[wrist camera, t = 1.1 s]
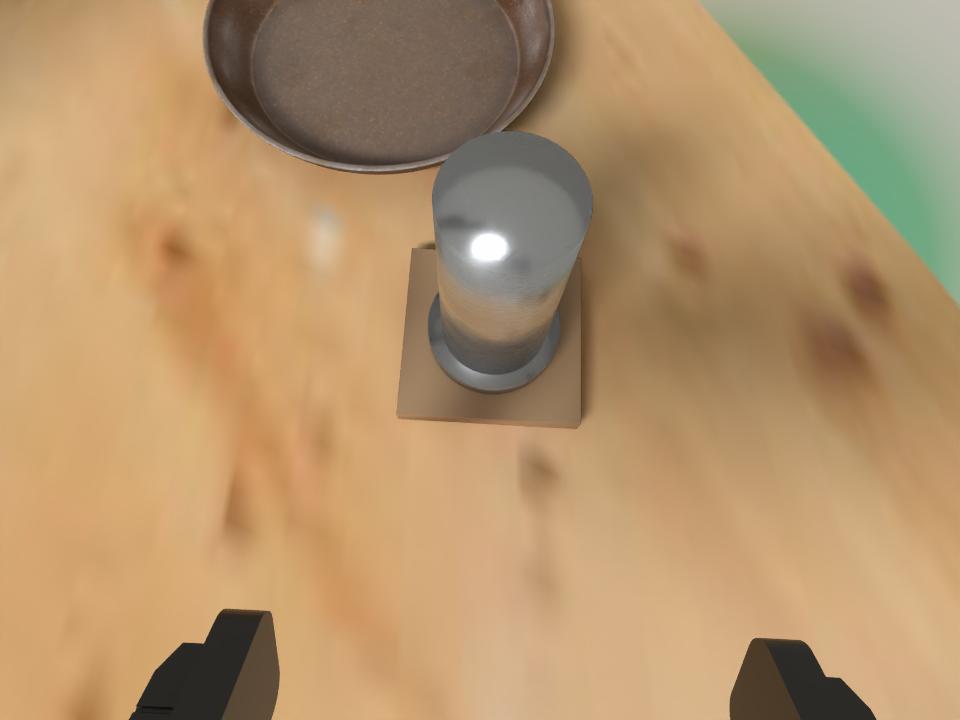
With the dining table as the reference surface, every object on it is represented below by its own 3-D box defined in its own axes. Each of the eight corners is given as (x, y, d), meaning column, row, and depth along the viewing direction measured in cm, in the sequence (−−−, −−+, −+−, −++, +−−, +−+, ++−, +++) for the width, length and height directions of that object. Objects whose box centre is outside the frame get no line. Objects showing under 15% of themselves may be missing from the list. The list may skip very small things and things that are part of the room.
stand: (398, 418, 28) (396, 413, 27) (413, 257, 30) (411, 248, 29) (576, 428, 28) (580, 424, 27) (577, 267, 31) (580, 258, 30)
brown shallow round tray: (219, -44, 36) (198, -96, 33) (519, -67, 38) (524, -120, 35) (226, 224, 31) (202, 189, 28) (575, 186, 32) (586, 148, 29)
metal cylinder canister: (408, 367, 28) (377, 249, 17) (456, 257, 29) (455, 89, 19) (531, 413, 27) (577, 321, 17) (573, 299, 29) (638, 151, 18)
